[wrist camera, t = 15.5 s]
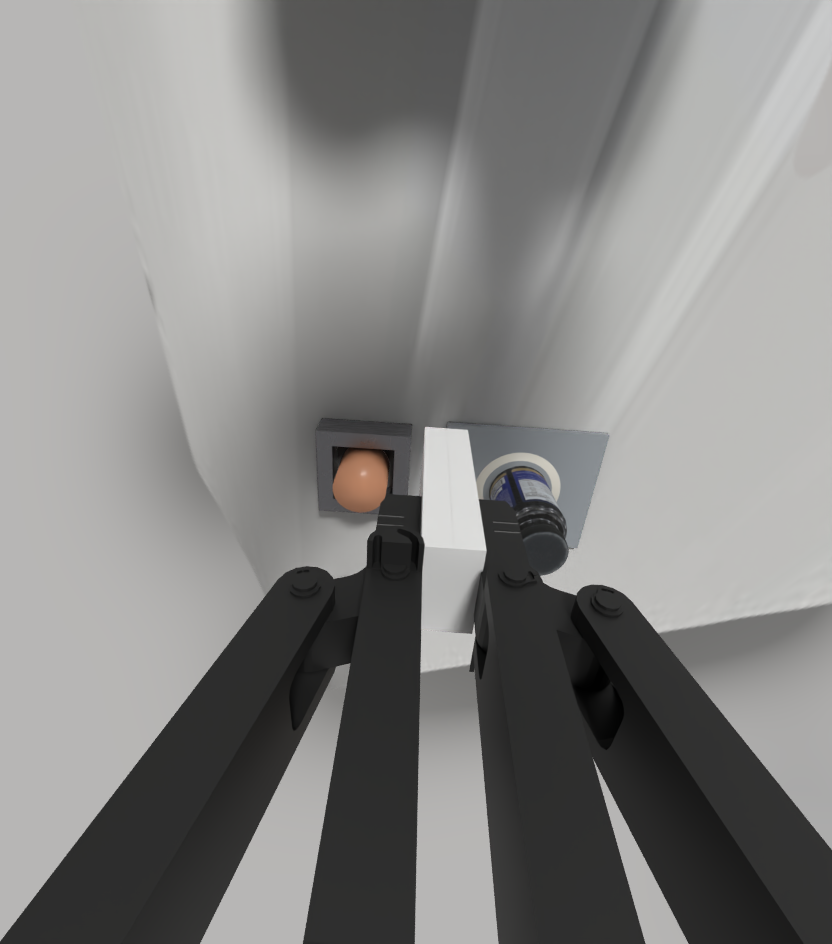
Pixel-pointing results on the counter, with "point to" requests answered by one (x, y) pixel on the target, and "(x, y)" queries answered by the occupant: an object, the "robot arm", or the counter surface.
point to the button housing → (360, 436)
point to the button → (361, 479)
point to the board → (541, 463)
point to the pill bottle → (534, 516)
